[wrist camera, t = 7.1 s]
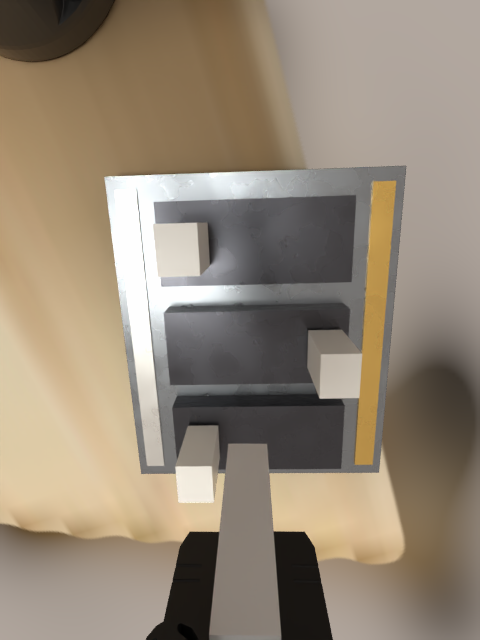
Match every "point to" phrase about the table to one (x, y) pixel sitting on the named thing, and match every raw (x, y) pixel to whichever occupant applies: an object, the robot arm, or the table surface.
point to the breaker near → (181, 249)
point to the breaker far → (198, 465)
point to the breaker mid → (334, 364)
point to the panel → (255, 291)
